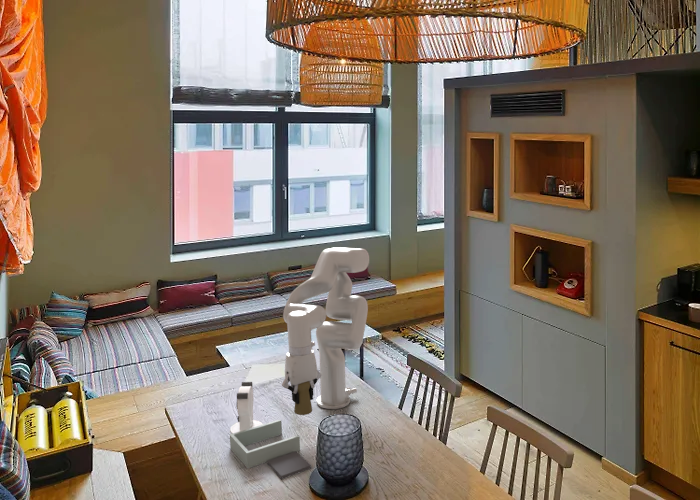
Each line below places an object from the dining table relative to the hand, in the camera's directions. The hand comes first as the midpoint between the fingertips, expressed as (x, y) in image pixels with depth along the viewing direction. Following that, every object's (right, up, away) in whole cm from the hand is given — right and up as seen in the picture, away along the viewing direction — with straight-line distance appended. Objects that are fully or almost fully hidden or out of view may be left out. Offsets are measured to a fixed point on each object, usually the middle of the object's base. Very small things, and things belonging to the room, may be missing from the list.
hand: (303, 399), depth 193 cm
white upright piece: (-20, -12, +9) cm, 25 cm away
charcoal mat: (-3, -16, -15) cm, 23 cm away
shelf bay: (-12, -15, -6) cm, 20 cm away
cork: (0, -4, +1) cm, 4 cm away
